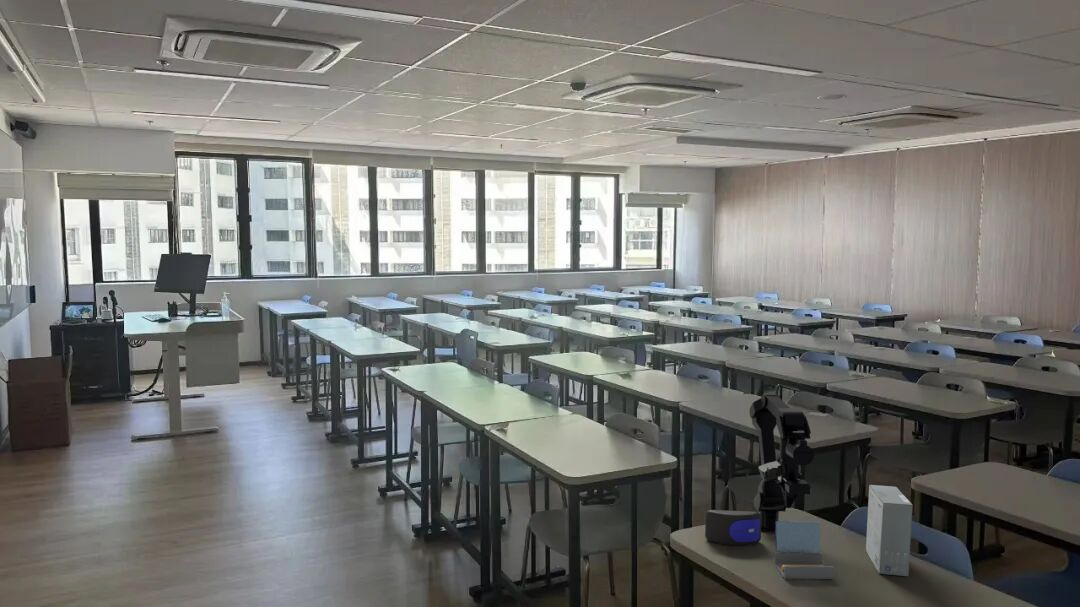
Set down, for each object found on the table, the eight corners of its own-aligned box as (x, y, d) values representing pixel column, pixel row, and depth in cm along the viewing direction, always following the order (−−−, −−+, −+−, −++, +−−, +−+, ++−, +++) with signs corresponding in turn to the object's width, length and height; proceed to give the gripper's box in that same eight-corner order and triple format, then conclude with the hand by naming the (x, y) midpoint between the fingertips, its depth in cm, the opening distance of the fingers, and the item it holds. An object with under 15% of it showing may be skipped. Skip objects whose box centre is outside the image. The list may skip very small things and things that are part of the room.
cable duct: (774, 564, 197) (774, 552, 197) (821, 565, 197) (821, 552, 197) (784, 579, 189) (785, 566, 188) (833, 579, 189) (834, 567, 188)
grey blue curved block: (706, 545, 210) (707, 514, 209) (704, 538, 214) (705, 508, 214) (763, 547, 208) (764, 516, 208) (759, 541, 213) (760, 510, 212)
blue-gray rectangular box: (776, 552, 197) (775, 551, 197) (820, 552, 197) (819, 551, 197) (776, 521, 197) (775, 521, 198) (819, 522, 197) (818, 521, 198)
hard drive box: (909, 577, 190) (913, 505, 189) (878, 574, 192) (882, 503, 190) (893, 552, 206) (896, 485, 204) (864, 550, 207) (867, 483, 205)
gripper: (752, 445, 213) (750, 495, 214) (772, 464, 194) (770, 519, 196) (789, 445, 213) (787, 495, 214) (813, 464, 194) (811, 520, 196)
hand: (788, 507), depth 205 cm, fingers closed
